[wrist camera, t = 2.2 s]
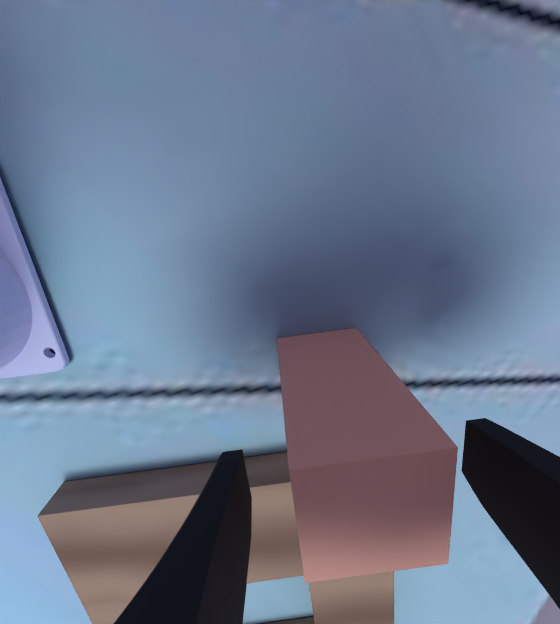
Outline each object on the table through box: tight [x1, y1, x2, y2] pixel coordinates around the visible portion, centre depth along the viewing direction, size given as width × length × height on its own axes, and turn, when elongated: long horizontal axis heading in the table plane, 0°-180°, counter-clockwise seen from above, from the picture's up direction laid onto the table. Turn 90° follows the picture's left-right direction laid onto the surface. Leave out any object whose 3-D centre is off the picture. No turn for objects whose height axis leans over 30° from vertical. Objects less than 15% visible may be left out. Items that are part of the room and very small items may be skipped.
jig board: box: [38, 452, 394, 624], centre depth 19 cm, size 22×18×2 cm
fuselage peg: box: [277, 328, 458, 583], centre depth 11 cm, size 4×4×8 cm
